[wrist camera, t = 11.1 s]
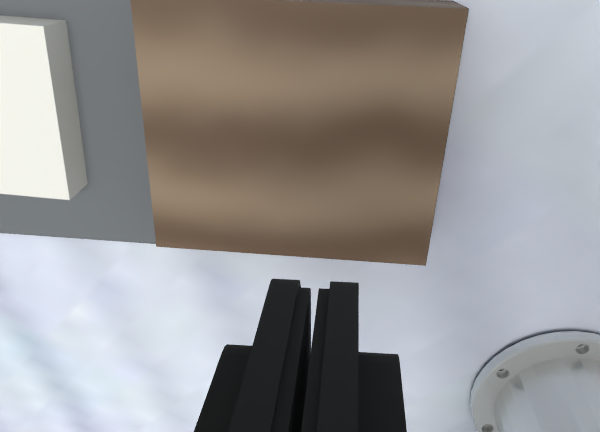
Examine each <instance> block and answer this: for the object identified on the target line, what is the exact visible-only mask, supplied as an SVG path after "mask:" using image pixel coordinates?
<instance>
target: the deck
mask: <svg viewBox="0 0 600 432" xmlns="http://www.w3.org/2000/svg"><path fill="white" fill-rule="evenodd" d="M130 1H131V10H132V20H133V29H134V39H135V48H136V58H137V67H138V77H139V87H140V96H141V106H142V115H143V125H144V134H145V144H146V153H147V163H148V172H149V182H150V191H151V201H152V210H153V220H154V230H155V239H156V247H170V248H185V249H199V250H213V251H227V252H241V253H256V254H270V255H284V256H298V257H312V258H327V259H341V260H355V261H369V262H383V263H398V264H412V265H426V261H427V255H428V249H429V243H430V237H431V231H432V225H433V219H434V213H435V207H436V201H437V195H438V189H439V183H440V177H441V172H442V166H443V160H444V154H445V148H446V142H447V136H448V130H449V124H450V118H451V112H452V106H453V100H454V94H455V88H456V82H457V76H458V70H459V64H460V58H461V52H462V46H463V40H464V34H465V28H466V22H467V17H468V11H469V9H468V8H466V7H464V6H462V5H460V4H458V3H456V2H454V1H443V0H130Z"/></svg>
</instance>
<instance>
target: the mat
mask: <svg viewBox="0 0 600 432" xmlns="http://www.w3.org/2000/svg"><path fill="white" fill-rule="evenodd" d="M0 15H3V16H16V17H28V18H41V19H54V20H66V23H67V31H68V38H69V46H70V53H71V61H72V69H73V76H74V84H75V91H76V99H77V106H78V114H79V122H80V129H81V137H82V144H83V152H84V159H85V167H86V175H87V182H88V184H87V185H86V186H85V187H84V188H82V189H81V190H80V191H79V192H78V193H77V194H76V195H75V196H74V197H73V198H71V199H70V200H63V199H52V198H41V197H30V196H20V195H9V194H0V233H9V234H23V235H37V236H51V237H66V238H80V239H94V240H108V241H123V242H137V243H151V244H156V239H155V230H154V220H153V210H152V201H151V191H150V182H149V172H148V163H147V153H146V144H145V134H144V125H143V115H142V106H141V96H140V87H139V77H138V67H137V58H136V48H135V39H134V29H133V20H132V10H131V1H130V0H0Z"/></svg>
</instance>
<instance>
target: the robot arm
mask: <svg viewBox="0 0 600 432" xmlns="http://www.w3.org/2000/svg"><path fill="white" fill-rule="evenodd" d="M358 295H359V285H358V283H351V282H330V289H319V292H318V300H317V308H316V316H315V324H314V332H313V340H312V348H311V289H310V288H301V285H300V280H285V279H271V282H270V285H269V289H268V292H267V296H266V300H265V303H264V307H263V310H262V314H261V317H260V321H259V324H258V328H257V332H256V335H255V339H254V342H253V346H245V345H226V346H225V347H224V349H223V351H222V354H221V357H220V360H219V362H218V365H217V368H216V371H215V374H214V377H213V379H212V382H211V385H210V388H209V391H208V393H207V396H206V399H205V402H204V405H203V408H202V410H201V413H200V416H199V419H198V422H197V424H196V427H195V430H194V432H407V430H406V420H405V411H404V401H403V391H402V381H401V372H400V362H399V356H398V354H382V353H365V352H358ZM470 406H471V413H472V417H473V420H474V423H475V426H476V429H477V430H478V432H600V335H598V334H595V333H588V332H579V331H564V332H553V333H548V334H542V335H538V336H535V337H532V338H529V339H525V340H522V341H520V342H518V343H516V344H514V345H512V346H510V347H508V348H506V349H505V350H504V351H502V352H501V353H499V354H498V355H497V356H495V357H494V358H493V359H492V360H491V361H490V362H489V363H488V364H487V365H486V366H485V367H484V368H483V369H482V371H481V372H480V374H479V375H478V377H477V378H476V380H475V383H474V385H473V388H472V390H471V398H470Z"/></svg>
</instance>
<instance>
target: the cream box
mask: <svg viewBox="0 0 600 432" xmlns="http://www.w3.org/2000/svg"><path fill="white" fill-rule="evenodd" d="M87 184H88V182H87V175H86V167H85V159H84V152H83V144H82V137H81V129H80V122H79V114H78V106H77V99H76V91H75V84H74V76H73V69H72V61H71V53H70V46H69V38H68V31H67V23H66V20H54V19H41V18H28V17H16V16H3V15H0V194H9V195H20V196H30V197H41V198H52V199H63V200H70V199H71V198H73V197H74V196H75V195H76V194H77V193H78V192H79V191H80V190H81V189H82V188H84V187H85V186H86V185H87Z"/></svg>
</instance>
